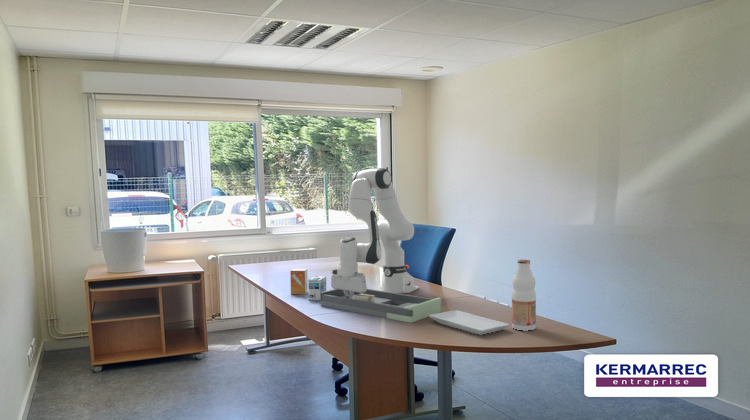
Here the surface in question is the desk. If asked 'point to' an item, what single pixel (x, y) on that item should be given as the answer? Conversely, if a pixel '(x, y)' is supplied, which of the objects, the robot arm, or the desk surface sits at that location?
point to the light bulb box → (316, 287)
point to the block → (365, 297)
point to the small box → (299, 281)
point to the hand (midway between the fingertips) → (348, 299)
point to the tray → (468, 322)
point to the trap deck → (383, 304)
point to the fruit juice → (523, 298)
